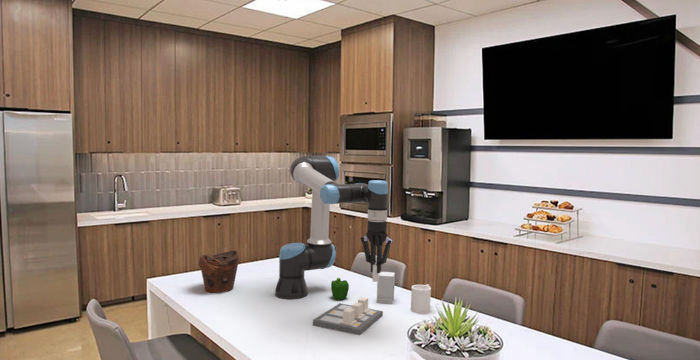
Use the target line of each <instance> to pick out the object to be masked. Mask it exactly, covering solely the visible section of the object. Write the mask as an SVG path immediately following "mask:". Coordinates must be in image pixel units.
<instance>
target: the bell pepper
mask: <svg viewBox="0 0 700 360" xmlns="http://www.w3.org/2000/svg"><path fill="white" fill-rule="evenodd" d="M330 286H331V287H330V291H331V294H332V297H333V298H334V299H335V300H337V301H341V300H343V299H344V300H345V299H346V298H347V296H348V294H349V293H348V292H349V291H350V290H349V288H350V285H349V282H348V281H347V280H341V277H337V278H336V279H335V280H331V284H330Z"/></svg>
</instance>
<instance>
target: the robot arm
mask: <svg viewBox="0 0 700 360" xmlns="http://www.w3.org/2000/svg"><path fill="white" fill-rule="evenodd" d="M289 167H290V168H289V174H290V176H291V178H292V179H293V180H294V181H295V182H297V183H298V184H304V185H306V186H307V187H308V188H310V189H311V210H310V211H311V213H310V214H311V215H310V216H311V217H310V237H309V238H308V239H307V240H306V245H305V243H303V242H291V243H290V242H289V243H286V244H284V245H282V246H281V247H280V249H279V256H278V258H279V259H278V260H279V261H278V263H279V266H278V267H279V270H278V274H279V276H278V280H277V284H276V287H275V291H274V292H275V293H274V294H275V296H276V297H278V298H280V299H285V300H294V299H302V298H305V297H307V296H308V294H309V293H308V292H309V289H308V287H307V283H306V279H305V272H306V271H315V270H324V269H328V268H331V267H332V266H333V265H334V263H335V261H336V257H337V256H336V254H337V250H336V247H335V246H334V244H333V243H332V240H331V239H330V238H329V232H330V231H329V229H330V208H331V205H339V204H359V203H360V204H361V203H362V204H367V220H368V221H366V222H367V223H366V224H367V225H366V226H367V227H366V229H367V232H366V233H365V236H362V237H360V242H361V243H362V245H363V251H364V256H365V261H366V262H367V263H370V272H371V273H372V282H373V283H377V281H378V280H379V273H381V272H382V266H383V265H385V263H387V260H388V257H389V252H390V249H391V245H393V243H394V240H393V239H392V238H390V237H388V233H387V231H388V222H387V220H388V202H389V200H388V199H389V197H388V196H389V189H388V187H389V186H388V185H389V184H388V181H386V180H381V179H380V180H379V179H377V180H375V179H372V180H369V181H368V184H367V183H363V182H358V183H357V182H356V183H348V184H347V183H342V184H340V183H337V182H336V181H337V180H338V179H339V177H340V167H339V163H338V162H337V160H336V158H334V157H333V156H327V155H303V156H299V157H296V158H295V159H294V160H293V161H292V163H291V164H290V166H289ZM369 242H370V244H369ZM384 243H385V246H384ZM383 246H384V250H383Z"/></svg>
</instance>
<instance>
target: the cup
mask: <svg viewBox="0 0 700 360" xmlns="http://www.w3.org/2000/svg"><path fill="white" fill-rule="evenodd" d="M431 290H432V287H431V286H430V284H429V283H427V284H414V285H411V292H410V294H411V295H410V296H411V297H410V311H411V312H413V313H414V314H415V313H416V314H419V315H420V314H422V315H423V314H429V313H430V312H431V294H432V291H431Z"/></svg>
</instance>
